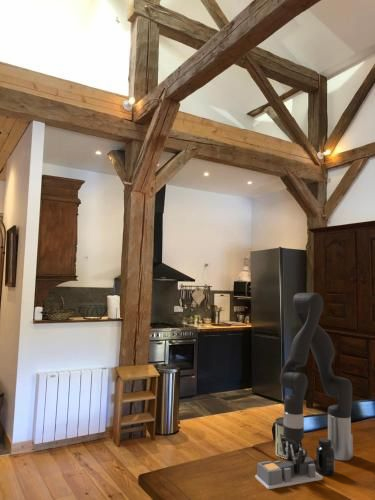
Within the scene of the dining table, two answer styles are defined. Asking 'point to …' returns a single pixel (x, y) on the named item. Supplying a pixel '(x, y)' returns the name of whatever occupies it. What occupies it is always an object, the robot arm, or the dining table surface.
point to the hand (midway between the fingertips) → (293, 471)
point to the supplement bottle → (325, 457)
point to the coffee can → (280, 435)
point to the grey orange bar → (291, 466)
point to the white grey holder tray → (275, 476)
